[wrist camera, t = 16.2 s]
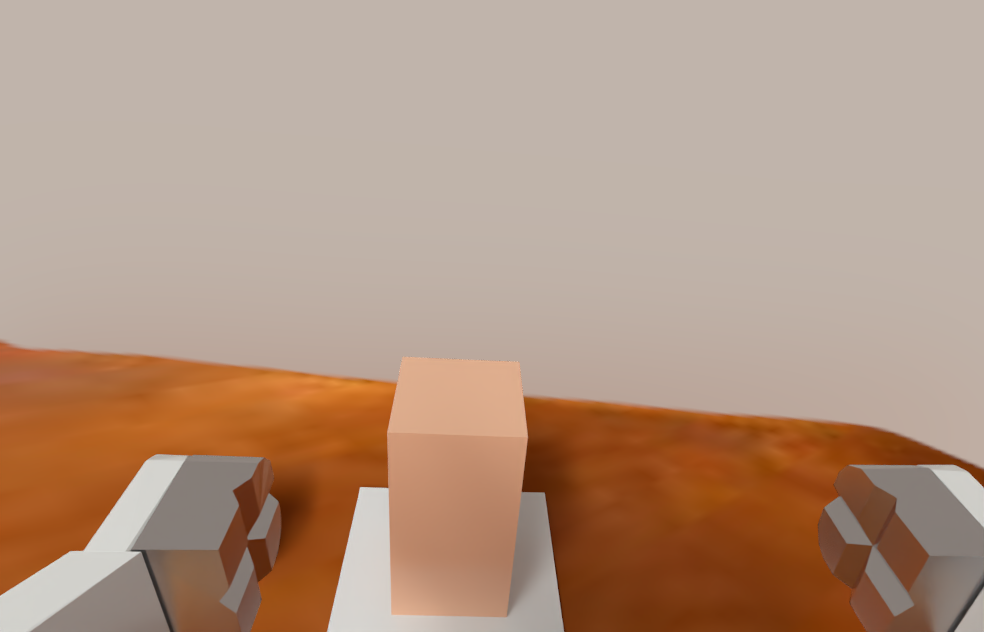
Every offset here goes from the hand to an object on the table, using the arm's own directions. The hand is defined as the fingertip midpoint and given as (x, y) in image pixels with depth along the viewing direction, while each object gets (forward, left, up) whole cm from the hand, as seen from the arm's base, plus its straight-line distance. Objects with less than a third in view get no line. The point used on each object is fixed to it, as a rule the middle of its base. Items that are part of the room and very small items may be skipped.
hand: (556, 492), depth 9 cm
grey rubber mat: (+1, -17, -23) cm, 28 cm away
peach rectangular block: (+1, -17, -23) cm, 28 cm away
